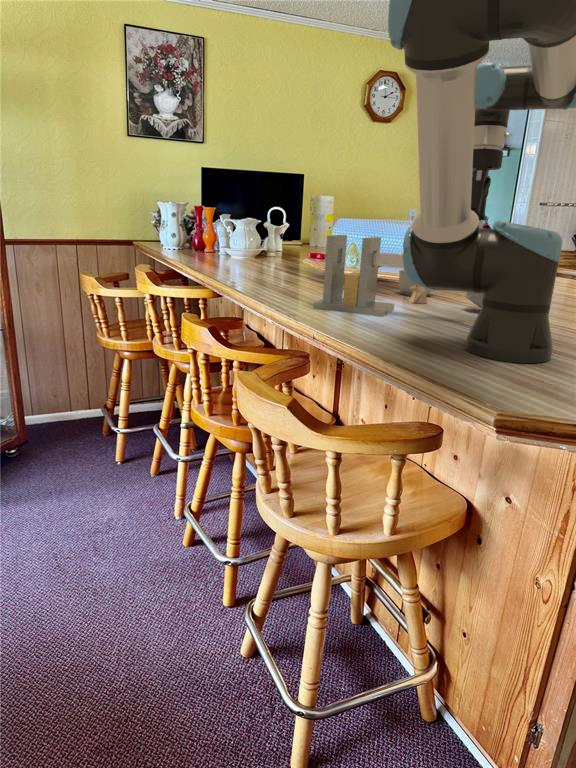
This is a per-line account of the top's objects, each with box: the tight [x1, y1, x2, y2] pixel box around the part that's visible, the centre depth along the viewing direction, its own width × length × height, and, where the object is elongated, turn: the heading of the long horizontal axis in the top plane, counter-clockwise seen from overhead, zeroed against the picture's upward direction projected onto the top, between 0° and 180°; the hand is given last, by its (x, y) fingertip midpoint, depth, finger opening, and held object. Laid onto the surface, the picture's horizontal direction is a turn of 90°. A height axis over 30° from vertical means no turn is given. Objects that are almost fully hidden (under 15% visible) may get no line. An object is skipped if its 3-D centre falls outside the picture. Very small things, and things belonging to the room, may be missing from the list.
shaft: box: [372, 252, 404, 269], centre depth 130 cm, size 4×24×4 cm, turn 67°
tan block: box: [342, 271, 360, 306], centre depth 138 cm, size 7×4×7 cm, turn 157°
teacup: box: [398, 268, 434, 297], centre depth 167 cm, size 14×11×8 cm
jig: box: [313, 234, 395, 318], centre depth 137 cm, size 12×18×18 cm, turn 67°
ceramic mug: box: [464, 292, 483, 309], centre depth 143 cm, size 11×8×8 cm
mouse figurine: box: [407, 285, 434, 305], centre depth 153 cm, size 5×8×7 cm, turn 91°
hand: (470, 249), depth 124 cm, fingers open, 13 cm apart
